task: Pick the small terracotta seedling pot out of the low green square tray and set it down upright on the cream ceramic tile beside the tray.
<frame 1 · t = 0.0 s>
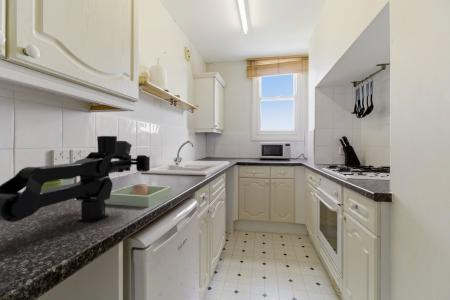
hand: (138, 161, 98), 17 cm above the countertop, tool horizontal, fingers open, 9 cm apart
plant pot: (48, 203, 92), on the countertop
ceramic tile: (96, 197, 101), on the countertop
syrup box: (68, 195, 106), on the countertop
green square tray: (139, 199, 99), on the countertop
seedling pot: (139, 192, 99), in the green square tray
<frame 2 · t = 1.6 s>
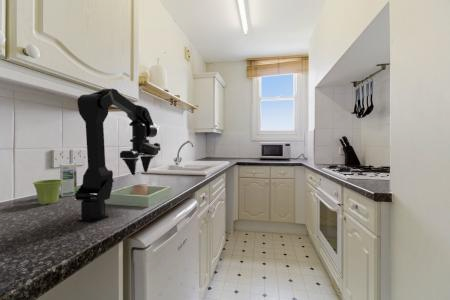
hand: (139, 173, 99), 11 cm above the countertop, tool pointing down, fingers open, 9 cm apart
nothing on the countertop moved.
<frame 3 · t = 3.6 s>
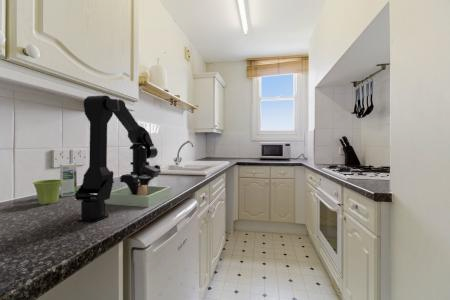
hand: (139, 195, 99), 2 cm above the countertop, tool pointing down, fingers closed on seedling pot, 6 cm apart
seedling pot: (139, 192, 99), in the green square tray, touching gripper
everything else where it was.
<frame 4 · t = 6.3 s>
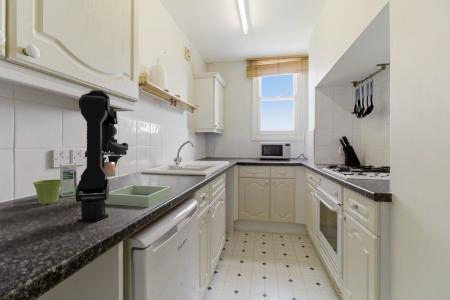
hand: (107, 172, 101), 11 cm above the countertop, tool pointing down, fingers closed on seedling pot, 6 cm apart
seedling pot: (107, 169, 101), point 13 cm above the countertop, touching gripper
everything else where it was.
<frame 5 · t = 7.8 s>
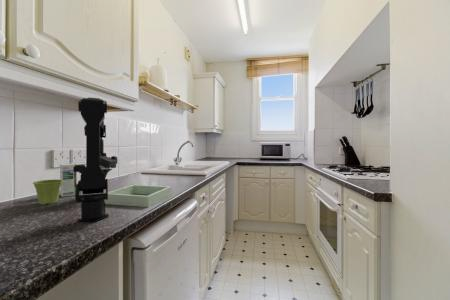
hand: (96, 186, 101), 5 cm above the countertop, tool pointing down, fingers closed on seedling pot, 6 cm apart
seedling pot: (96, 182, 101), point 7 cm above the countertop, touching gripper
everything else where it was.
when the fingers open (3 cm above the countertop, at t = 9.1 s): seedling pot drops 1 cm, resting on ceramic tile.
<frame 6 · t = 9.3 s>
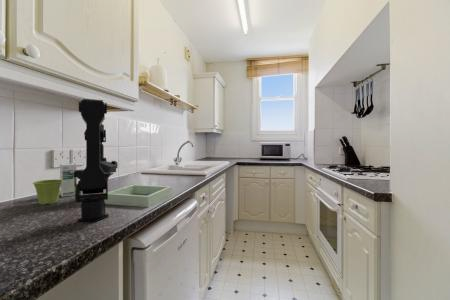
hand: (96, 190, 101), 3 cm above the countertop, tool pointing down, fingers open, 8 cm apart
seedling pot: (96, 190, 101), resting on ceramic tile
everything else where it was.
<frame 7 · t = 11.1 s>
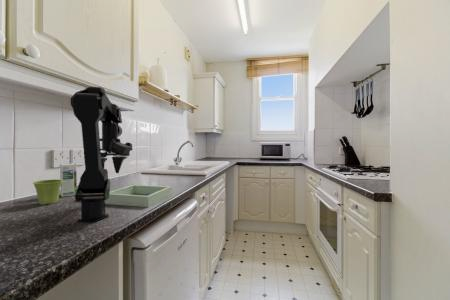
hand: (109, 174, 94), 11 cm above the countertop, tool pointing down, fingers open, 9 cm apart
nothing on the countertop moved.
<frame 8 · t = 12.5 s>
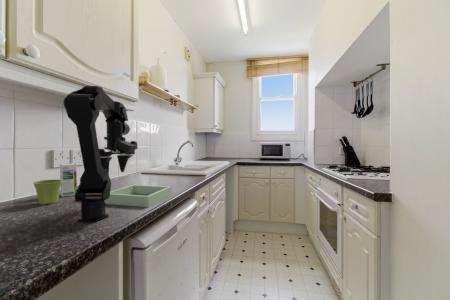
hand: (114, 173, 92), 12 cm above the countertop, tool pointing down, fingers open, 9 cm apart
nothing on the countertop moved.
at the end: seedling pot inside the target area (0.0 cm from its centre), resting on ceramic tile; seedling pot tilted 0°; the gripper is holding nothing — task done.
